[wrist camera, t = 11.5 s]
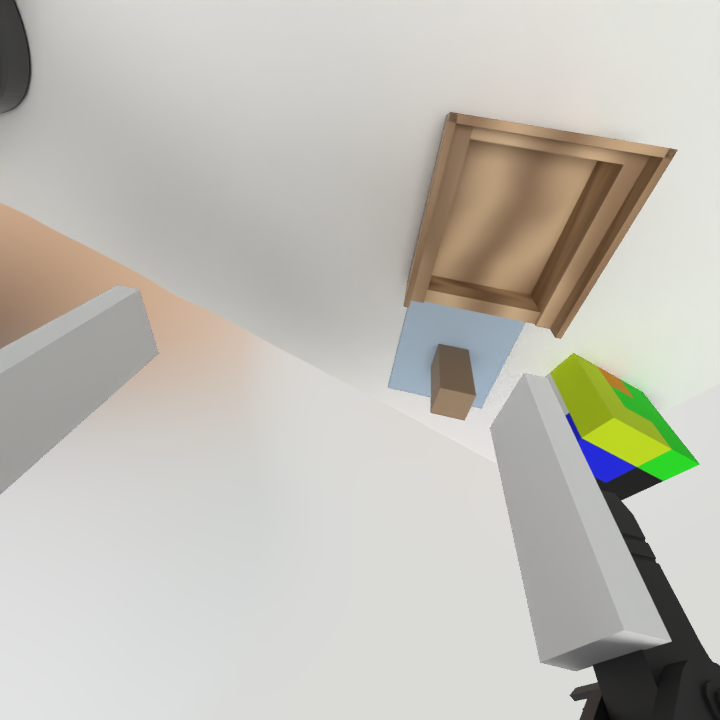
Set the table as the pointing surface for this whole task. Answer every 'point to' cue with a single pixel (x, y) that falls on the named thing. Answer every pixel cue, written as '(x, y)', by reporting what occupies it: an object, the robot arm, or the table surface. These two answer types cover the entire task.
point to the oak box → (526, 217)
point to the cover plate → (454, 333)
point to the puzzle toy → (617, 429)
